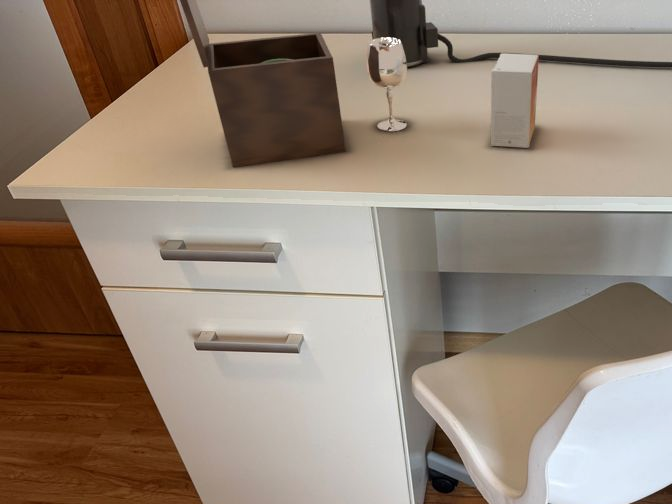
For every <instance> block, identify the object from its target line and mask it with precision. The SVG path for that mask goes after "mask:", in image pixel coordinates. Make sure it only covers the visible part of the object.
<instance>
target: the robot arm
mask: <svg viewBox="0 0 672 504" xmlns="http://www.w3.org/2000/svg"><path fill="white" fill-rule="evenodd" d="M369 6H370V7H369V8H370V17H371V27H372V31H371V38H372V39H371V40H373V39H376V38H384V37H390V38H397V39H399V40H401V43H402V46H403V49H404V52H405V57H406V62H407V68H410V67H416V66H418V65H420V64H424V63H428V62H429V53H428V49H432V48H439V41H440V42H442V43H444V45H445V46H446V47H447V58H448V59H449V60H450V61H451V62H452V63H454V64H462V63H472V62H479V61H480V62H481V61H484V60H488V59H499V57H500V54H501V53H502V52H487V53H482V54H478V55H476V56H472V57H469V58H458V57H457V56H455V55H454V54H453V53H454V51H453V50H454V47H453V44H452V41H450V39H448V38H447V37H446V36H444V35H442V34H440V33H439V31H438V29H439V28H438V27H437V26H436V25H435V24H434V23H433V22H432V21H430V22H427V16H426V6H425V5H424V4H423V0H369ZM505 53H506V54H520V53H519V52H518V53H517V52H505ZM526 54H527V55H536V54H534V53H533V54H532V53H526ZM538 55H539V61H544V62H556V63H557V62H559V63H570V64H571V63H572V64H584V65H586V64H587V65H596V66H597V65H598V66H599V65H600V66H612V67H613V66H614V67H616V66H617V67H633V68H634V67H635V68H663V69H664V68H666V69H669V68H671V69H672V61H647V60H646V61H645V60H644V61H643V60H623V59H608V58H592V57H579V56H578V57H576V56H565V55H564V56H562V55H551V54H550V55H549V54H538Z"/></svg>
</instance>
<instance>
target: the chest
mask: <svg viewBox="0 0 672 504" xmlns="http://www.w3.org/2000/svg"><path fill="white" fill-rule="evenodd" d="M209 51H210V67H207V73H208V78H209V81H210V84H211V85H210V86H211V89H212V92H213V97H214V100H215V104H216V107H217V108H216V109H217V111H218V115H219V119H220V123H221V127H222V130H223V134H224V138H225V139H224V140H225V143H226V147H227V150H228V155H229V158H230V161H231V167H232V168H236V167H244V166H251V165H259V164H265V163H266V164H267V163H273V162H279V161H280V162H281V161H287V160H293V159H294V160H295V159H302V158H308V157H309V158H310V157H315V156H323V155H324V156H325V155H331V154H339V153H345V152H347V149H346V142H345V135H344V129H343V127H344V126H343V121H342V114H341V113H342V112H341V105H340V99H339V91H338V85H337V78H336V77H337V76H336V71H335V63H334V57H333V55H332V53H331V52H330V49H329V47H328V46H327V43H326V41H325V39H324V37H323V34H322V33H321V32H313V33H312V32H310V33H302V34H292V35H283V36H282V35H280V36H271V37H261V38H251V39H242V40H241V39H240V40H231V41H223V42H212V43H209ZM271 59H293V60H288V61H279V62H269V63H262V62H264V61H267V60H271ZM259 63H260V64H259Z"/></svg>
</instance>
